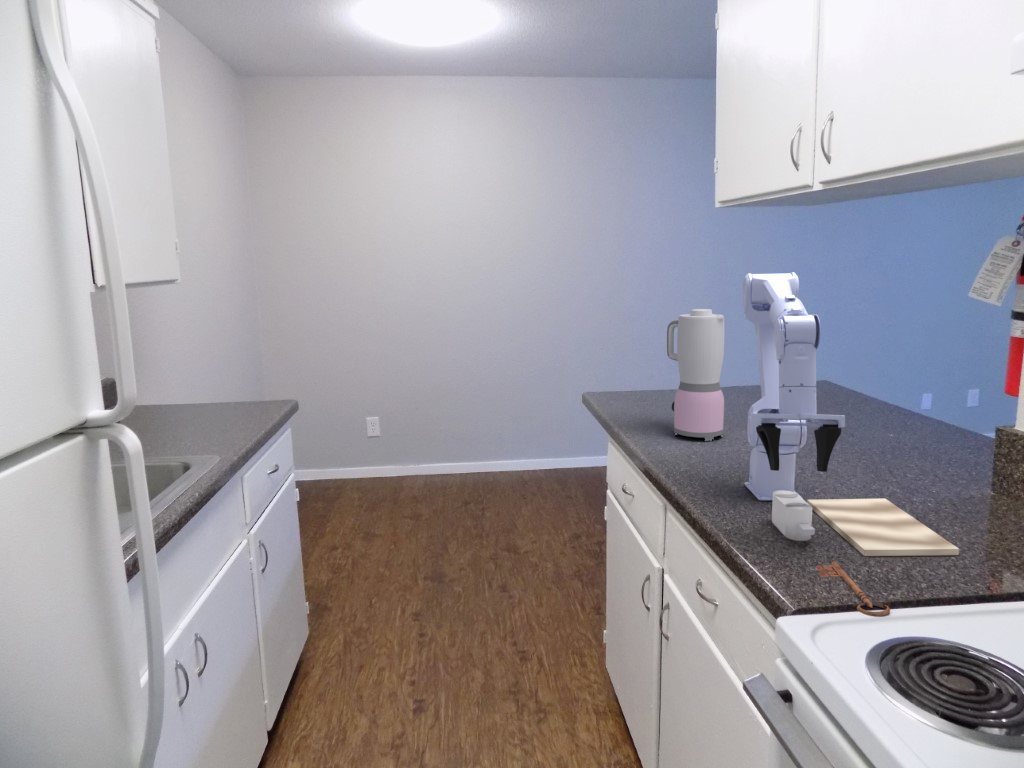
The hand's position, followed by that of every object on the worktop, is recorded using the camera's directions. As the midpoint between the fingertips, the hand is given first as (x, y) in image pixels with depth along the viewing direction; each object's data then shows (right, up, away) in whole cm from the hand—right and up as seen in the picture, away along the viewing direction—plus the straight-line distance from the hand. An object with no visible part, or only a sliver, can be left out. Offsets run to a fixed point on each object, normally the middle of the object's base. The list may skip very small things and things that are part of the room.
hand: (798, 471), depth 112 cm
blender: (0, +1, +64) cm, 64 cm away
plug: (0, -10, +2) cm, 10 cm away
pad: (+14, -10, +3) cm, 17 cm away
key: (-1, -14, -17) cm, 23 cm away
